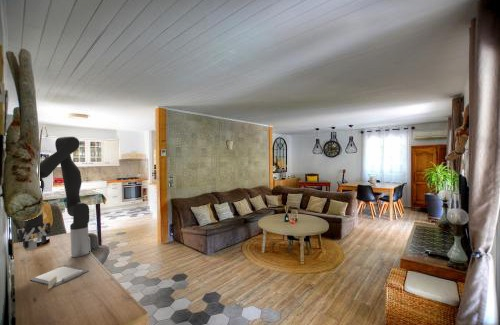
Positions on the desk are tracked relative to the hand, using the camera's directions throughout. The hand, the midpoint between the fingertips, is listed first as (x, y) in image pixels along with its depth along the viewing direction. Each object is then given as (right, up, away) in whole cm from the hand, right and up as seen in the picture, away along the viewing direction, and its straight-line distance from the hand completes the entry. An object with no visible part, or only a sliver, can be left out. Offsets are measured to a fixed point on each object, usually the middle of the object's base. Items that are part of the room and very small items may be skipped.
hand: (35, 245), depth 125 cm
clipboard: (+15, -15, -2) cm, 22 cm away
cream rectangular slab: (+20, -15, -13) cm, 28 cm away
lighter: (0, -2, 0) cm, 2 cm away
